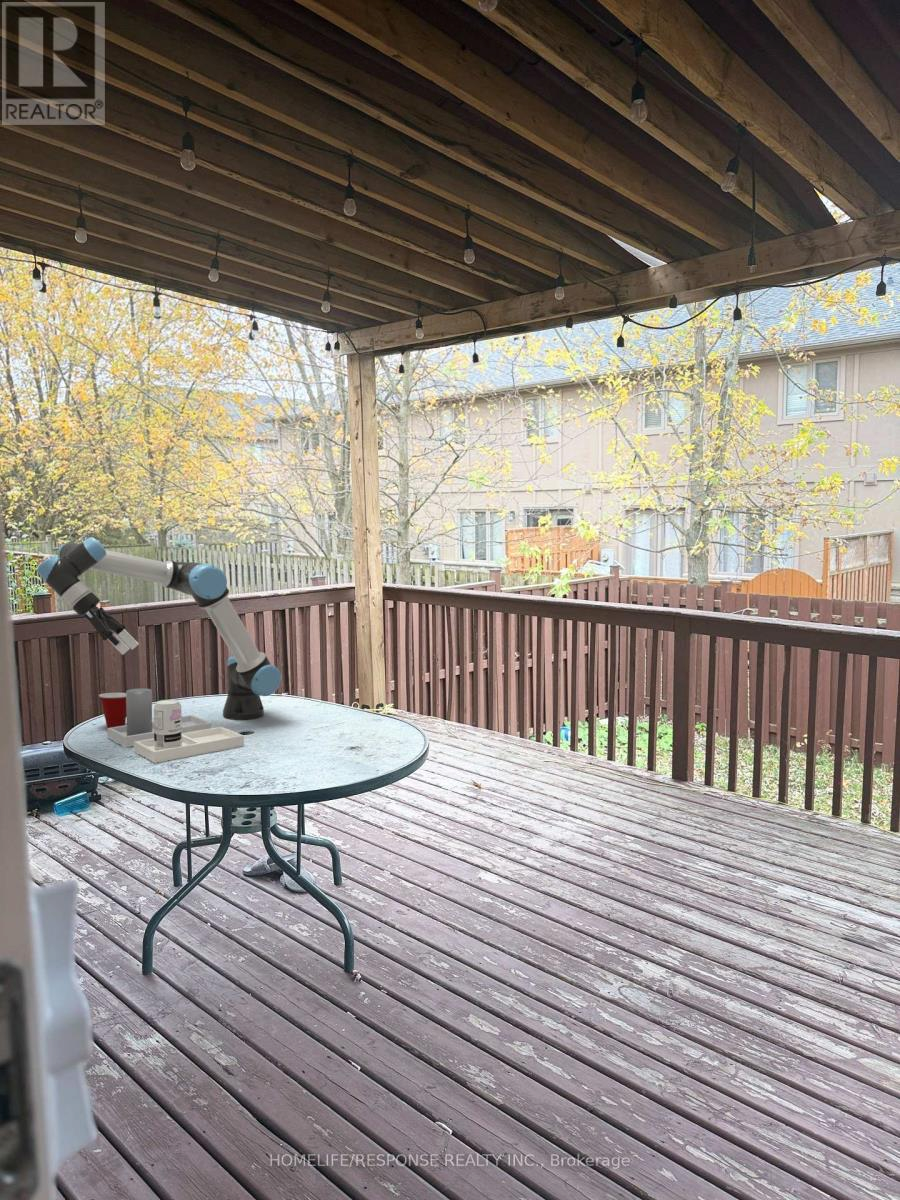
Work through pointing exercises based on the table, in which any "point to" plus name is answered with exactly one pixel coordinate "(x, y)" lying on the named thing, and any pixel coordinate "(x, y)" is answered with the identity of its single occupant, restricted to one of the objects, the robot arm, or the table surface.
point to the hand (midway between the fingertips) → (131, 649)
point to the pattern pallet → (130, 740)
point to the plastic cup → (114, 708)
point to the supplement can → (167, 724)
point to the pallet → (192, 744)
